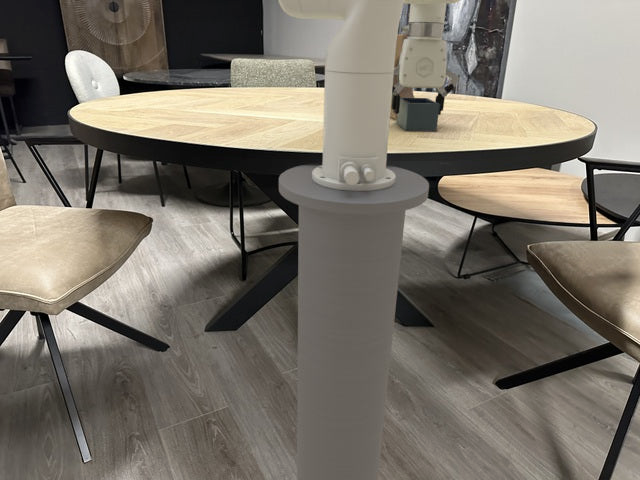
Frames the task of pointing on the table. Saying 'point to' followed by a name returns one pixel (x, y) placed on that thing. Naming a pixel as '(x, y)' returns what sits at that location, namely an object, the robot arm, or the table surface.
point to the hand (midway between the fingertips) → (416, 113)
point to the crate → (418, 114)
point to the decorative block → (406, 91)
